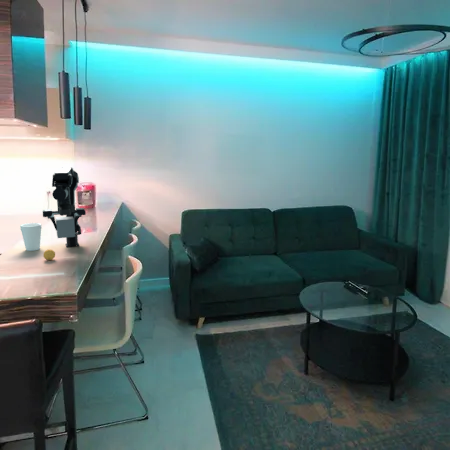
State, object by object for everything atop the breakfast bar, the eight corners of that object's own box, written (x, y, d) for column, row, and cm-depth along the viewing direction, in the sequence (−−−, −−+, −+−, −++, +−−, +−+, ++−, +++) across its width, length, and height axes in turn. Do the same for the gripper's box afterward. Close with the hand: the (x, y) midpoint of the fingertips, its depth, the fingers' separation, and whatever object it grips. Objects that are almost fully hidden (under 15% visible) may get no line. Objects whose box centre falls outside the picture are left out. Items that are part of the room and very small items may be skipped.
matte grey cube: (56, 234, 170) (55, 217, 168) (73, 233, 173) (72, 216, 172) (57, 238, 163) (56, 220, 161) (75, 236, 167) (74, 219, 165)
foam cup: (47, 247, 182) (45, 223, 179) (33, 252, 173) (31, 227, 170) (32, 246, 184) (30, 222, 182) (18, 250, 175) (15, 225, 173)
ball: (43, 259, 162) (42, 248, 161) (55, 257, 165) (54, 247, 164) (43, 261, 158) (43, 251, 157) (55, 260, 160) (55, 250, 159)
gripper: (41, 200, 153) (44, 234, 156) (86, 199, 162) (87, 231, 165) (41, 198, 163) (44, 230, 166) (83, 196, 172) (85, 227, 175)
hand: (65, 229), depth 168 cm, fingers closed on matte grey cube, 8 cm apart
